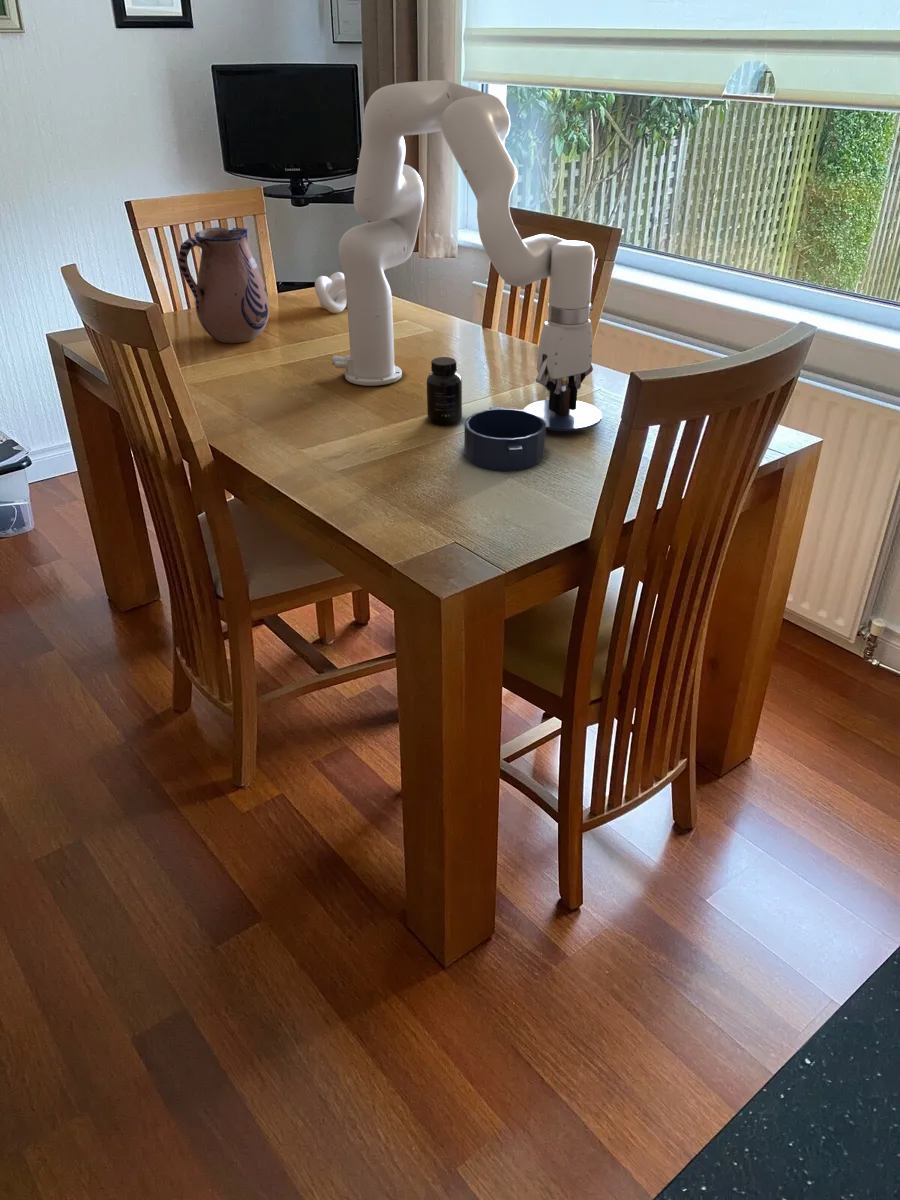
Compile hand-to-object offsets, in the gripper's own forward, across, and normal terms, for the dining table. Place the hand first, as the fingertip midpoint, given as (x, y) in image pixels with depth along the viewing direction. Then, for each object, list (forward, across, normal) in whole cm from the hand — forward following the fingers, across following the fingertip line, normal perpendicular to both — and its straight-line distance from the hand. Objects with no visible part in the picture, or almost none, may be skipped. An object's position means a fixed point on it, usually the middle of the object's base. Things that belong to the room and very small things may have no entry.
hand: (562, 408), depth 174 cm
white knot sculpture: (+3, +1, -96) cm, 96 cm away
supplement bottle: (+3, +18, -14) cm, 23 cm away
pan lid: (+1, 0, 0) cm, 1 cm away
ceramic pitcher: (+3, +34, -86) cm, 93 cm away
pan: (+3, +18, +6) cm, 19 cm away
